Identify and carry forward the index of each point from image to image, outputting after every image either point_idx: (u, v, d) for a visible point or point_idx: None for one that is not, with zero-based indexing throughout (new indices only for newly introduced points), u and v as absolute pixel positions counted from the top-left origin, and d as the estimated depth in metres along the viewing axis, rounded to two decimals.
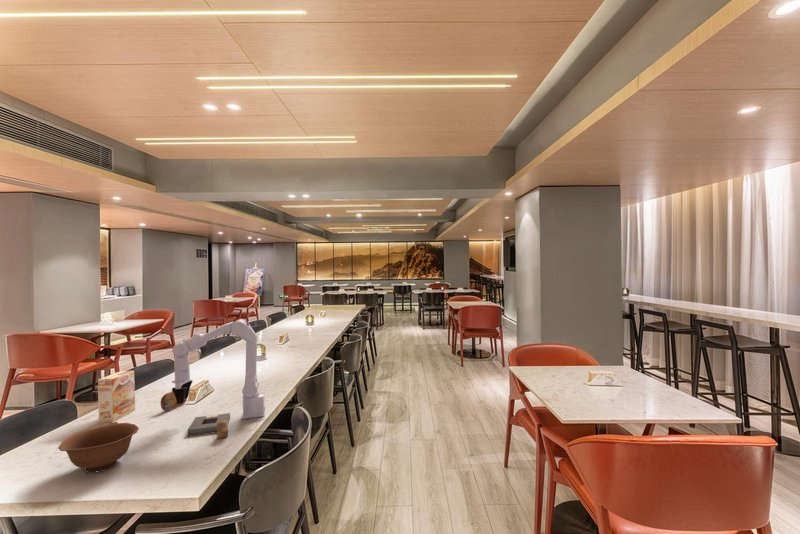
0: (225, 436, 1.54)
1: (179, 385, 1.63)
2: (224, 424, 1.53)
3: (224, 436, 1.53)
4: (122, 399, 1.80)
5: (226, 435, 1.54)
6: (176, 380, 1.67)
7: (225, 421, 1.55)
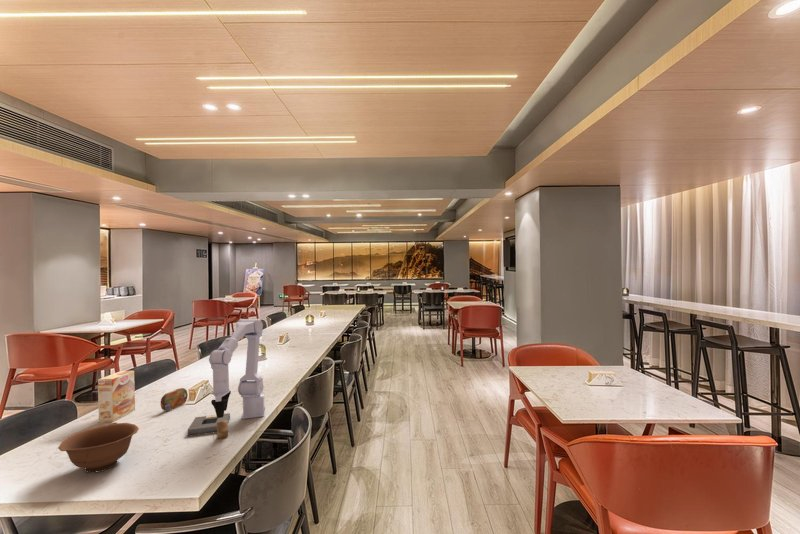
0: (225, 436, 1.54)
1: (219, 397, 1.48)
2: (224, 424, 1.53)
3: (224, 436, 1.53)
4: (122, 399, 1.80)
5: (226, 435, 1.54)
6: (215, 391, 1.52)
7: (225, 421, 1.55)
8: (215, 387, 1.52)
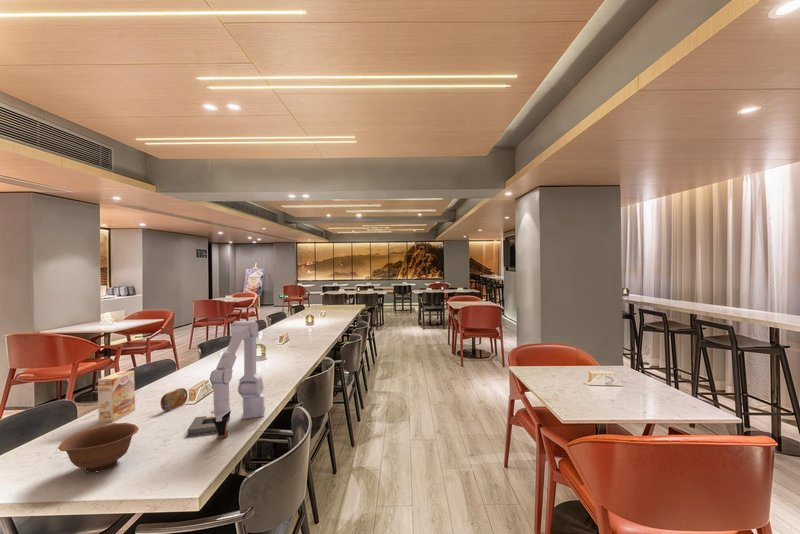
0: (225, 436, 1.54)
1: (220, 417, 1.48)
2: None
3: (224, 436, 1.53)
4: (122, 399, 1.80)
5: (226, 435, 1.54)
6: (216, 411, 1.52)
7: None
8: (216, 406, 1.52)
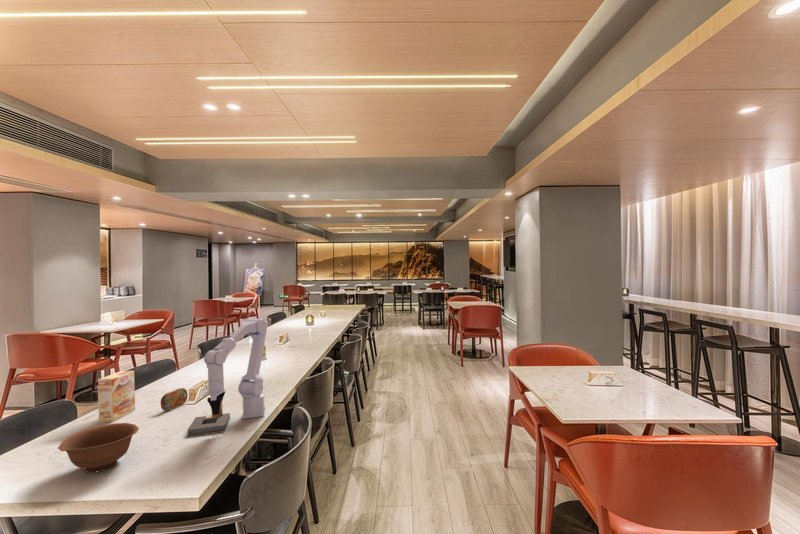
0: (219, 415, 1.58)
1: (215, 396, 1.52)
2: None
3: (218, 415, 1.57)
4: (122, 399, 1.80)
5: (220, 414, 1.58)
6: (210, 391, 1.56)
7: None
8: (210, 386, 1.56)
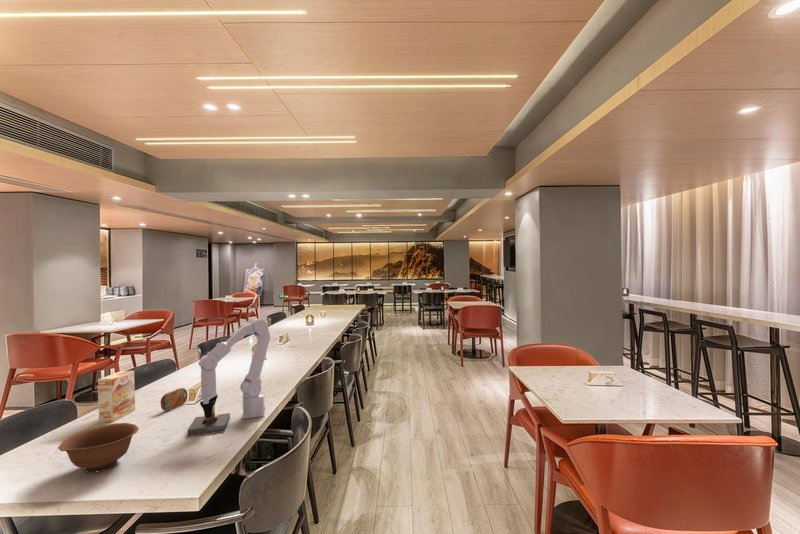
0: (212, 418, 1.64)
1: (207, 400, 1.58)
2: None
3: (211, 418, 1.64)
4: (122, 399, 1.80)
5: (213, 417, 1.64)
6: (203, 394, 1.63)
7: None
8: (203, 390, 1.63)
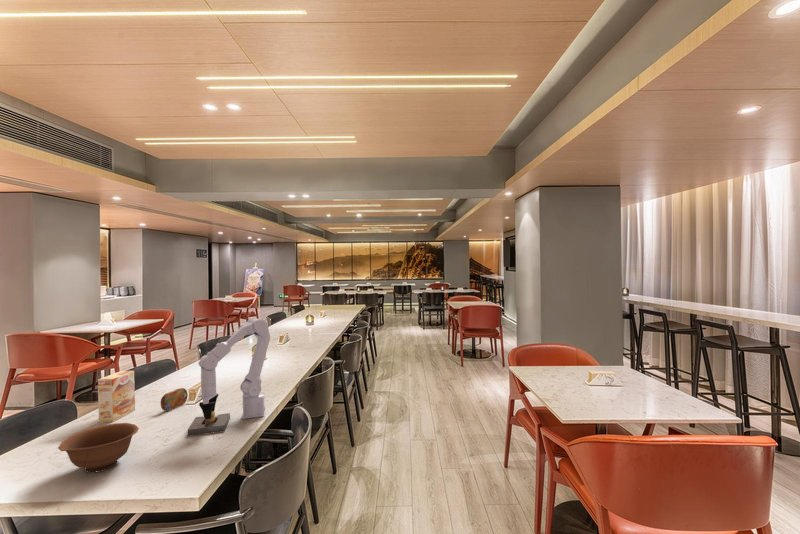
0: None
1: (207, 400, 1.58)
2: (211, 415, 1.64)
3: None
4: (122, 399, 1.80)
5: None
6: (203, 394, 1.63)
7: (212, 412, 1.66)
8: (203, 390, 1.63)
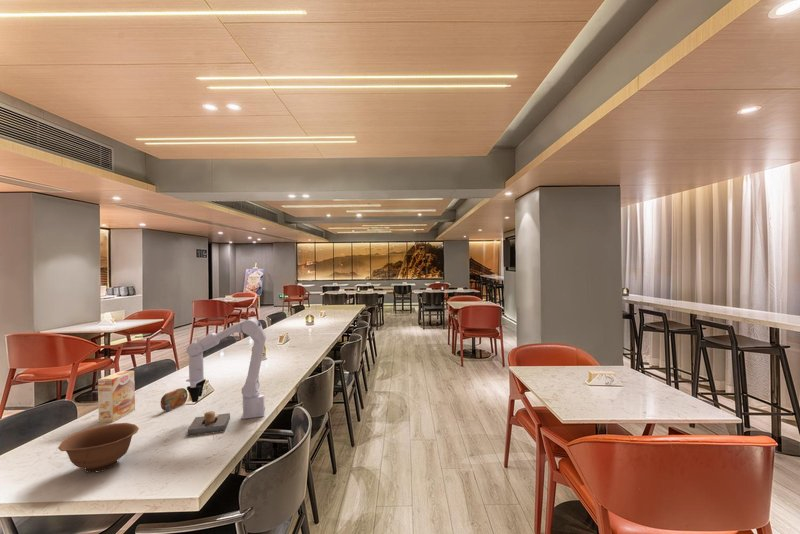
0: None
1: (194, 384, 1.66)
2: (211, 415, 1.64)
3: None
4: (122, 399, 1.80)
5: None
6: (191, 379, 1.70)
7: (212, 412, 1.66)
8: (191, 375, 1.70)
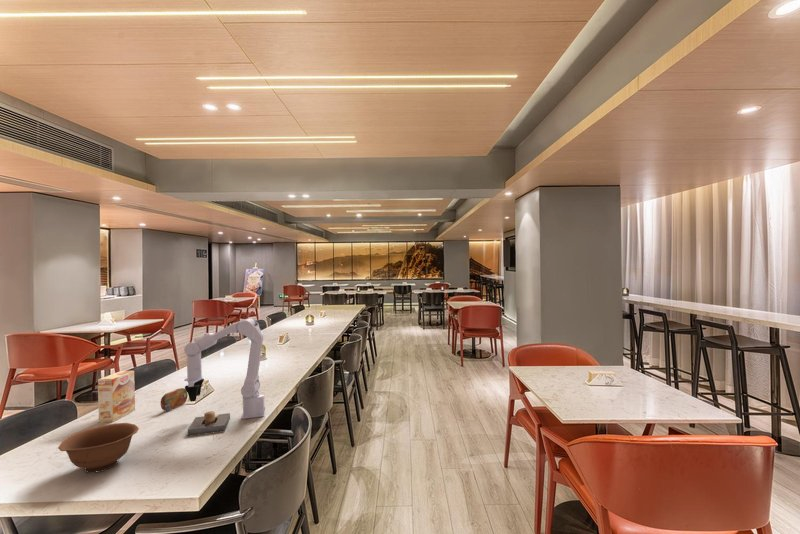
0: None
1: (192, 383, 1.68)
2: (211, 415, 1.64)
3: None
4: (122, 399, 1.80)
5: None
6: (189, 378, 1.72)
7: (212, 412, 1.66)
8: (189, 374, 1.72)
